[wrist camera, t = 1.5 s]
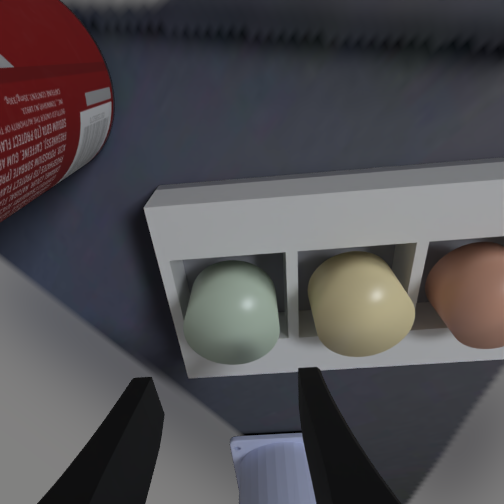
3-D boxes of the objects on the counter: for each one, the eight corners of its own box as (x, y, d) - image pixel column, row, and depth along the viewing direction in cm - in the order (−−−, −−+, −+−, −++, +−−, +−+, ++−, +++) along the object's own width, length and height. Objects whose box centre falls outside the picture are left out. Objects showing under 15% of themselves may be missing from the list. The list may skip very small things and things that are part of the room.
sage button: (277, 324, 17) (281, 361, 15) (198, 329, 17) (192, 367, 15) (273, 257, 15) (277, 289, 13) (184, 263, 15) (174, 296, 13)
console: (480, 324, 20) (509, 358, 18) (195, 342, 21) (188, 378, 18) (539, 154, 15) (590, 172, 13) (158, 185, 16) (143, 207, 13)
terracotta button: (500, 309, 17) (536, 346, 15) (418, 315, 17) (442, 351, 15) (527, 238, 15) (573, 268, 13) (433, 245, 15) (463, 276, 13)
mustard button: (387, 316, 17) (407, 353, 15) (307, 322, 17) (315, 359, 15) (398, 247, 15) (422, 279, 13) (307, 254, 15) (316, 286, 13)
